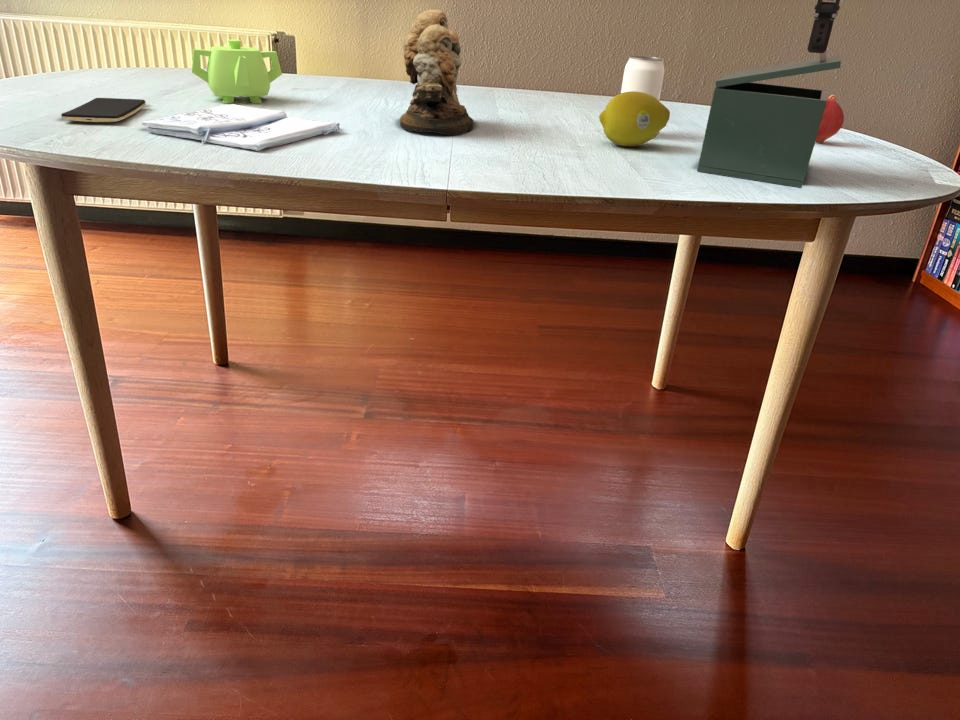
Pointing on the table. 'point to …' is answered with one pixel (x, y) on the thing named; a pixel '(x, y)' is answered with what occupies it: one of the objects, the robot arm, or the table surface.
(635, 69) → the can
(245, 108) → the open sketchbook
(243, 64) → the teapot
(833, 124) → the onion
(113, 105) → the smartphone
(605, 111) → the lemon
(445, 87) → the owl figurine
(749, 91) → the trash bin
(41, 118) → the table surface
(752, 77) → the bin lid
